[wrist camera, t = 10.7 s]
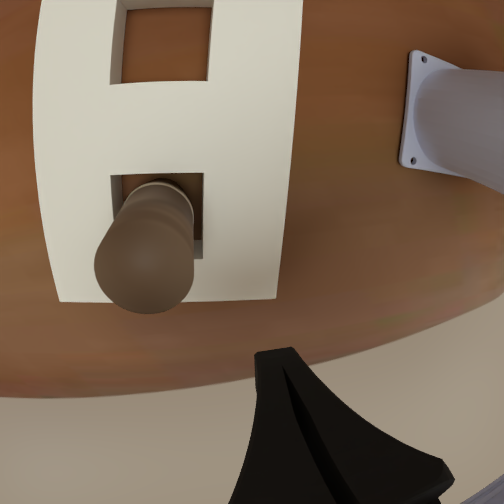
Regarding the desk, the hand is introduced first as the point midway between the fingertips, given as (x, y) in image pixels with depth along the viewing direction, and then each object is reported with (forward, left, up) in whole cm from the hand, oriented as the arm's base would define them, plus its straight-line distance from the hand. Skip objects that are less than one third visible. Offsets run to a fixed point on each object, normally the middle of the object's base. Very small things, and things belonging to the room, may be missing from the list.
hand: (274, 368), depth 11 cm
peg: (+5, -3, -10) cm, 11 cm away
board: (+5, -8, -10) cm, 14 cm away
